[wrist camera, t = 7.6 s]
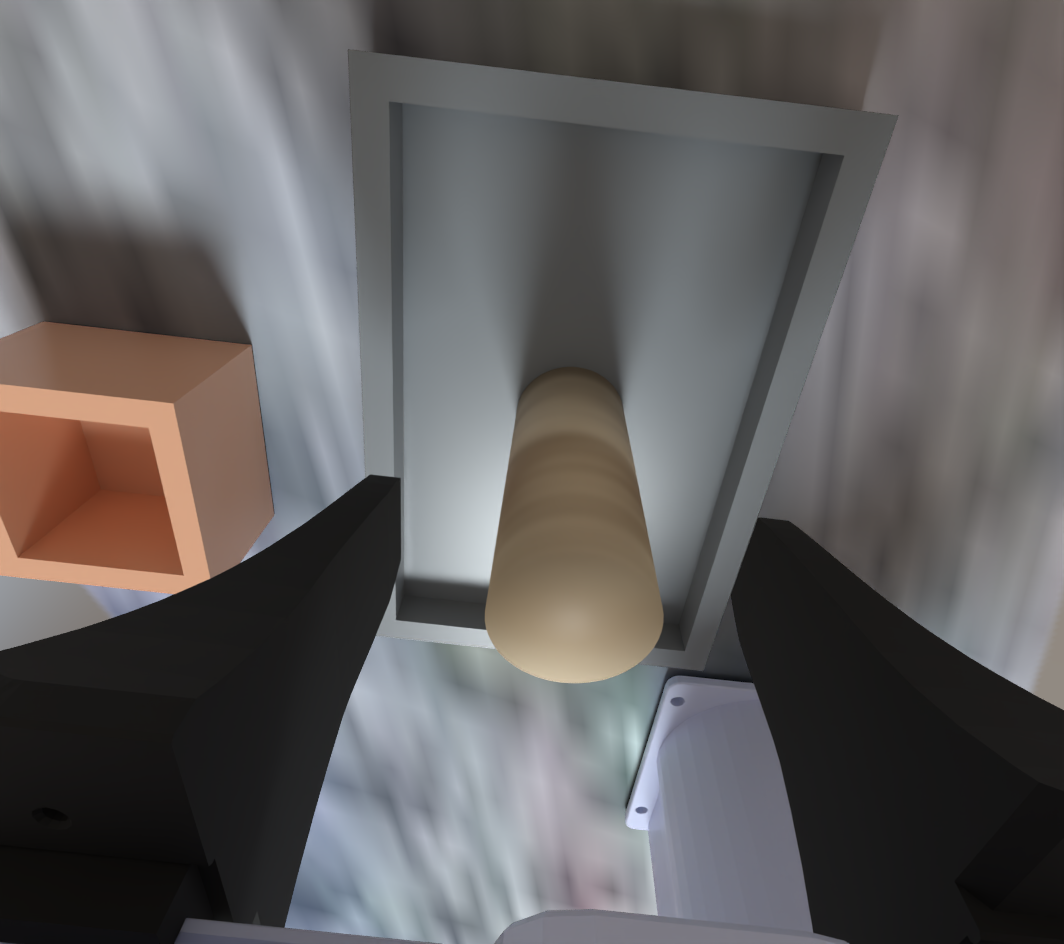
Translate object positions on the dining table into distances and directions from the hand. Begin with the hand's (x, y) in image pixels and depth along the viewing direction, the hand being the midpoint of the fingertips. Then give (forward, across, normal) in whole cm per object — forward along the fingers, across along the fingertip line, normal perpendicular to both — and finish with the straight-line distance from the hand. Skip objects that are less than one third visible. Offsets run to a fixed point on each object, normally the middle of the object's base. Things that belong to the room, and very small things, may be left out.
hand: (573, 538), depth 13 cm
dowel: (+6, 0, 0) cm, 6 cm away
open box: (+6, +12, +2) cm, 14 cm away
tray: (+6, 0, 0) cm, 6 cm away
